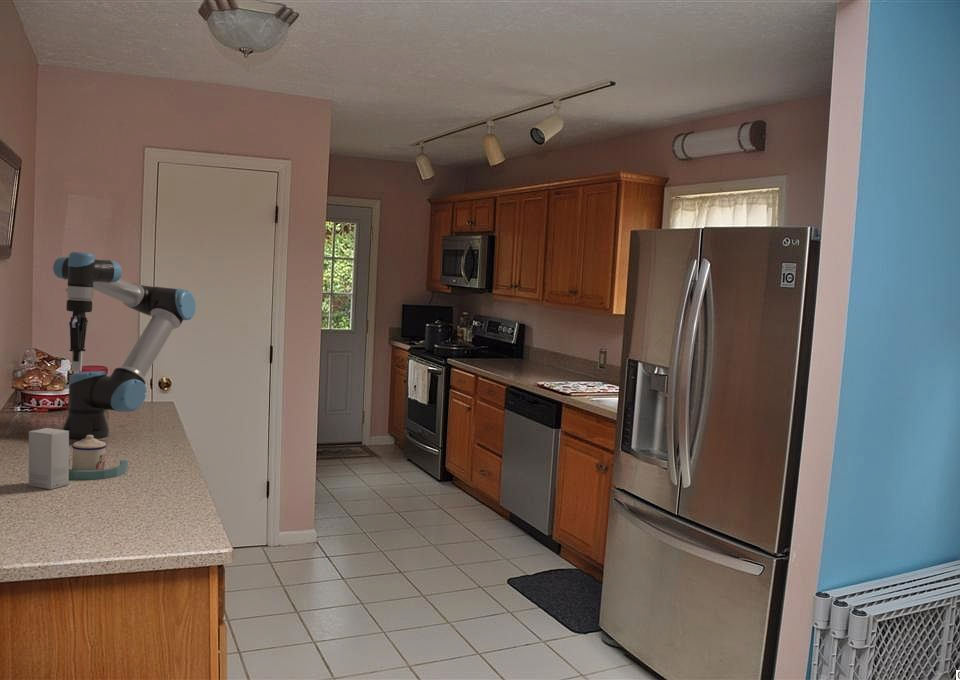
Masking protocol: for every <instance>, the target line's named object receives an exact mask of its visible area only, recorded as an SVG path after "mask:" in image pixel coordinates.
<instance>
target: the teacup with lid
mask: <svg viewBox="0 0 960 680" xmlns="http://www.w3.org/2000/svg"><path fill="white" fill-rule="evenodd" d="M93 437H94V436H93V435H87V436H86V438H85V439H80V440H79V441H75V442H73V444H72V445H71V448H72V457H71V459H72V461H71V463H72V464H71V469H72V470H103V469H105V464H106V462H105V461H106V460H105V459H106V448H107V444H106V442H105V441H102V440H99V439H98V438H93Z"/></svg>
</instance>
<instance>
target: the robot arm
mask: <svg viewBox="0 0 960 680" xmlns="http://www.w3.org/2000/svg"><path fill="white" fill-rule="evenodd" d="M52 269H53V273H54V275H55V276H56V277H57V278H59V279H63V280H67V288H65V292H66V297H67V298H68V299H67V300H66V306H65V307H66V311H68V312H71V313H72V315H71V317H70V321H69V323H68V325H69V337H70V338H69V340H70V341H69V342H70V345H69V346H70V348H69V352H72V354H71V372H75V373H72V374H71V375H70V377H69V385H68V412H67V417H66V419H65V422H64V424H63V427H62V429H61V430H67V431H69V439H74V440H82V439H85V438H86V436H87V435H93V436H94V437H93V438H95V439H100V438H101V439H102V438H105V437H108V436H109V435H110V434H109V433H110V432H109V431H110V428H109V425H108V422H107V418H106V415H105V410H109V411H116V412H119V413H126V412H127V413H130V412H131V413H132V412H135V410H136V411H137V410H138V409H140V407H141V406H142V405H143V404H144V402H145V399H146V397H147V394H146V393H147V387H146V380H145V377H146V375H147V374H148V372H149V371H150V369H151V367H152V365H153V363H154V362H155V361H156V358H157V357H158V355H159V353H160V352H161V350H162V348H163V347H164V345H165V343H166V341H167V340H168V338H169V337H170V335H171V333H172V331H173V330H175V329H178V328H180V327H181V325H182V323H183V321H189V320H191V319H193V318H194V316H195V313H196V300H195V297H194V294H192V292H191V291H189V290H188V289H183V288H180V287H179V288H173V287H172V288H171V287H163V286H162V287H160V286H150V285H149V286H148V285H143V284H140V283H137V282H132V283H131V282H129V281H126V280H125V279H122V273H123V268H122V266H121V265H120V264H119V263H118V262H117V261H115V260H111V259H107V260H105V259H95V254H94V253H89V252H81V251H80V252H78V251H72V252H70V253H69V255H68V256H62V257H61V256H60V257H58V258H57V259H55V261H54V263H53V265H52ZM94 290H95V291H96V292H99V293H101V294H103V295H106V296H109V297H111V298H113V299H115V300H118V301H120V302H122V304H123V305H124V306H126V307H127V308H130V309H133V310H135V311H137V312H139V313H141V314H144V315H147V316H150V317H151V319H150V320H149V321H148V323H147V325H146V327H145V328H144V329H143V332H142V333H141V334H140V336H139V338H138V340H137V341H136V343H135V345H134V346H133V347H132V349H131V351H130V353H129V354H128V356H127V358H125V360H124V362H123V364H122V365H121V366H120V367H115V368H114V370H113V372H111V374H110V376H108V374H107V372H106V371H103V370H97V371H96V370H94V371H93V370H92V371H82V370H83V369H82V367H83V352H86V349H85V347H86V346H85V345H86V335H87V326H88V318H87V317H86V313H91V312H92V311H93V299H94Z"/></svg>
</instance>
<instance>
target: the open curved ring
mask: <svg viewBox="0 0 960 680" xmlns="http://www.w3.org/2000/svg"><path fill="white" fill-rule="evenodd" d="M70 466H71V458H69V468H70ZM128 467H129V462H128V461H127V460H126V459H121V460H119V465H118V466H117V465H116V466H115V467H109V468H104V469H103V470H72V468H70V469H69V480H78V481H79V480H80V481H81V480H82V481H84V480H85V481H91V480H92V481H94V480H105V479H110V478H117V477H120V476H122V475H125V474H126V473H127V472H128V471H129V470H128V469H129V468H128Z"/></svg>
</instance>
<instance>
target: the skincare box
mask: <svg viewBox="0 0 960 680" xmlns="http://www.w3.org/2000/svg"><path fill="white" fill-rule="evenodd" d="M69 442H70V438H69V431H67V430H62V429H58V428H57V429H56V428H50V427H45V428H40V429H35V430H34V429H33V430H30V431H28V486H29V487H34V488H40V489H45V490H55V489H59V488H62V487H66V486H69V480H70V479H69V468H70V467H69V459H70V458H69V455H70V454H69V453H70V450H69V449H70V446H69V445H70V443H69Z"/></svg>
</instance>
